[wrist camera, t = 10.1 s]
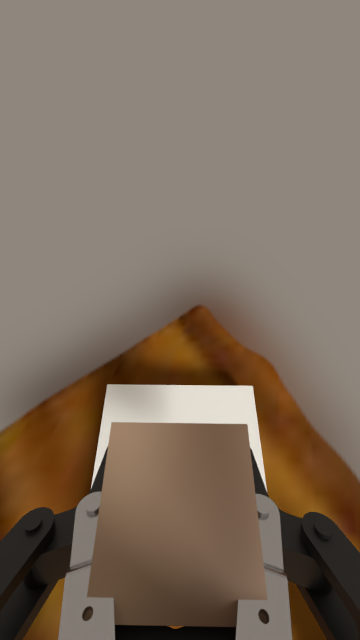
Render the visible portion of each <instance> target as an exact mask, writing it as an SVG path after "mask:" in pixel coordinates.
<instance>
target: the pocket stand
mask: <svg viewBox="0 0 360 640" xmlns="http://www.w3.org/2000/svg"><path fill="white" fill-rule="evenodd" d="M111 422H137V423H210V424H247V426H248V434H249V443H250V448H251V449H252V452H253V454H254V457H255V460H256V463H257V467H258V468H259V471H260V474H261V477H262V480H263V482H264V485H265V488H266V481H265V473H264V466H263V459H262V451H261V444H260V437H259V429H258V422H257V415H256V407H255V400H254V393H253V386H211V385H118V384H107V390H106V396H105V403H104V409H103V415H102V422H101V428H100V434H99V441H98V447H97V453H96V460H95V466H94V472H93V479H92V485H93V482H94V480H95V477H96V475H97V472H98V469H99V467H100V465H101V462H102V459H103V457H104V454H105V451H106V449H107V447H108V443H109V436H110V429H111ZM92 485H91V488H92ZM266 491H267V488H266Z"/></svg>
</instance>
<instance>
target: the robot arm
mask: <svg viewBox="0 0 360 640" xmlns="http://www.w3.org/2000/svg"><path fill="white" fill-rule="evenodd" d="M107 451H108V447H107V449H106V451H105V454H104V457H103V459H102V462H101V465H100V467H99V469H98V472H97V475H96V477H95V480H94V482H93V485H92V488H91V490H90V493H89V495H87V496H85V497H84V498H83V499H82V500H81V501H80V503H79V504H78V506H77V507H76V508H74V509H71V510H69V511H66V512H62V513H59V514H56V515H54V514H53V512H52V510H51V509H49V508H46V507H41V508H37V509H34V510H32V511H30V512H28V513H27V514H26V515H24V516H23V517H22V518H21V519H20V520H19V521H18V523H17V524H16V525H15V526H14V527H13V528H12V529H11V530H10V532H9V533H8V534H7V535H6V536H5V537H4V538H3V539H2V541H1V542H0V640H22V639H23V638H24V636H25V634H26V633H27V631H28V630H29V628H30V626H31V625H32V623H33V621H34V620H35V618H36V616H37V615H38V613H39V611H40V610H41V608H42V606H43V605H44V603H45V601H46V600H47V598H48V596H49V595H50V593H51V591H52V590H53V588H54V586H55V585H56V583H57V581H58V580H59V579H62V578H64V577H65V585H64V594H63V603H62V612H61V620H60V629H59V638H58V640H292V630H291V618H290V605H289V592H288V581H287V580H289V581H291V582H293V583H296V585H297V587H298V588H299V590H300V592H301V594H302V596H303V597H304V599H305V601H306V603H307V604H308V606H309V608H310V610H311V612H312V613H313V615H314V617H315V619H316V620H317V622H318V624H319V626H320V627H321V629H322V631H323V633H324V635H325V636H326V638H327V640H360V553H359V552H358V550H357V549H356V548H355V547H354V546H353V544H352V543H351V542H350V541H349V540H348V538H347V537H346V536H345V535H344V534H343V532H342V531H341V530H340V529H339V528H338V526H337V525H336V524H335V523H334V522H333V521H332V520H331V519H329V518H328V517H326V516H325V515H323V514H320V513H317V512H309V513H307V514H305V515H304V517H303V519H302V518H299V517H296V516H293V515H290V514H287V513H285V512H283V511H281V510H280V509H278V508H277V506H276V504H275V503H274V502H273V501H272V500H271V499H270V498H269V496H268V494H267V491H266V488H265V485H264V482H263V480H262V477H261V474H260V471H259V468H258V467H257V463H256V460H255V457H254V454H253V452H252V449H251V448H250V451H251V460H252V469H253V477H254V486H255V495H256V503H257V512H258V521H259V529H260V538H261V546H262V555H263V564H264V572H265V581H266V590H267V598H268V600H238V610H237V622H236V627H207V626H184V627H181V628H178V629H173V628H170V627H168V626H151V625H115V614H114V598H97V597H87V592H88V585H89V578H90V571H91V564H92V557H93V549H94V542H95V535H96V528H97V521H98V514H99V507H100V500H101V493H102V486H103V479H104V472H105V465H106V458H107ZM89 610H91V611H92V612H93V615H92V617H91V618H90V620H88V621H84V617H85V615H86V613H87V612H88V611H89ZM260 613H263V614H264V615H265V616H266V618H267V622H268V623H267V624H264V623H262V622H261V621H260V619H259V616H258V615H259V614H260Z"/></svg>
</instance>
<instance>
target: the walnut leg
mask: <svg viewBox="0 0 360 640" xmlns="http://www.w3.org/2000/svg"><path fill="white" fill-rule="evenodd" d="M87 597H97V598H114V614H115V625H151V626H207V627H236V622H237V610H238V600H268V598H267V590H266V581H265V572H264V564H263V555H262V546H261V538H260V529H259V521H258V512H257V503H256V495H255V486H254V477H253V469H252V460H251V451H250V443H249V434H248V426H247V424H210V423H137V422H111V429H110V436H109V443H108V451H107V458H106V465H105V472H104V479H103V486H102V493H101V500H100V507H99V514H98V521H97V528H96V535H95V542H94V549H93V557H92V564H91V571H90V578H89V585H88V592H87ZM92 615H93V612H92V611H91V610H89V611H88V612H87V613H86V615H85V617H84V621H88V620H90V618H91V617H92ZM258 616H259V619H260V621H261V622H262V623H264V624H267V623H268V622H267V618H266V616H265V615H264V614H263V613H260V614H259V615H258Z"/></svg>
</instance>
